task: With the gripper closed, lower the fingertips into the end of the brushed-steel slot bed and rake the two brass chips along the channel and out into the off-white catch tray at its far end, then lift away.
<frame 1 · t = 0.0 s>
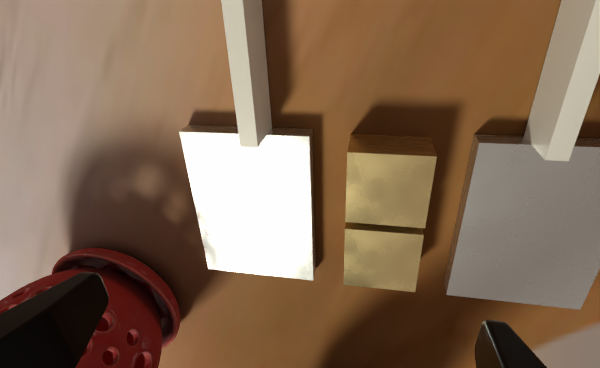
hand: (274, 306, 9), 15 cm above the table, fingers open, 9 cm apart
brass chip b: (386, 168, 23), on the table
brass chip a: (381, 233, 25), on the table
plant pot: (124, 289, 33), on the table
slot bed: (383, 211, 24), on the table
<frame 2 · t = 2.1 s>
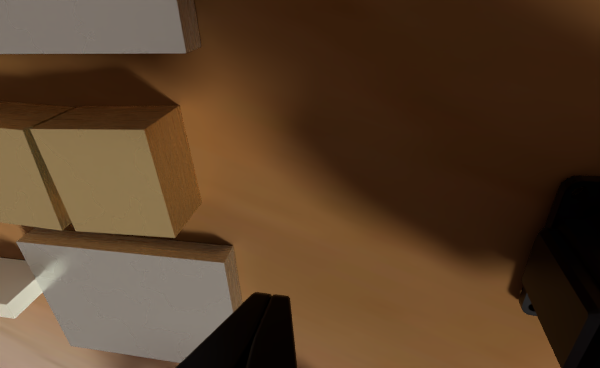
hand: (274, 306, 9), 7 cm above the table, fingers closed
brass chip b: (47, 149, 17), on the table
brass chip a: (146, 154, 16), on the table
slot bed: (101, 154, 16), on the table
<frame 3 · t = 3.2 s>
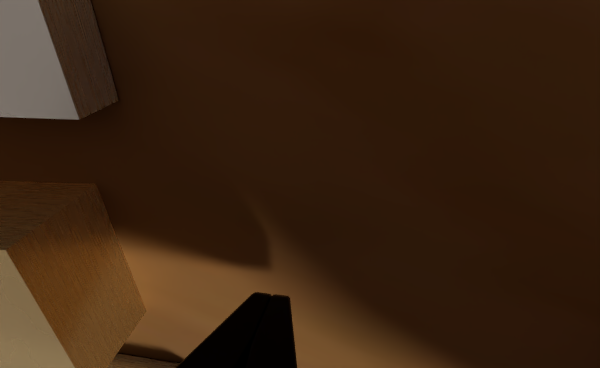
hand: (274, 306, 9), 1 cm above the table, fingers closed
brass chip a: (61, 244, 11), on the table
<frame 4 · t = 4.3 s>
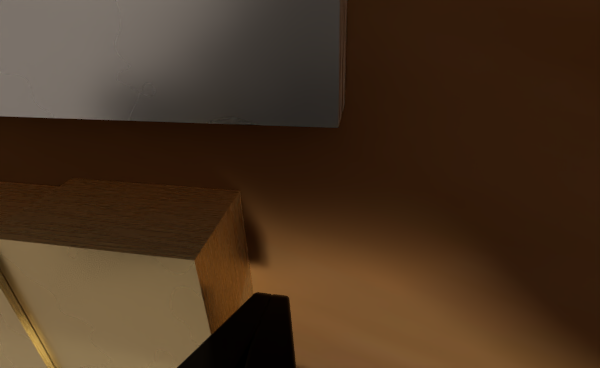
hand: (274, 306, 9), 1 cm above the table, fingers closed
brass chip b: (38, 243, 11), on the table
brass chip a: (176, 247, 10), on the table, touching gripper
slot bed: (143, 258, 10), on the table
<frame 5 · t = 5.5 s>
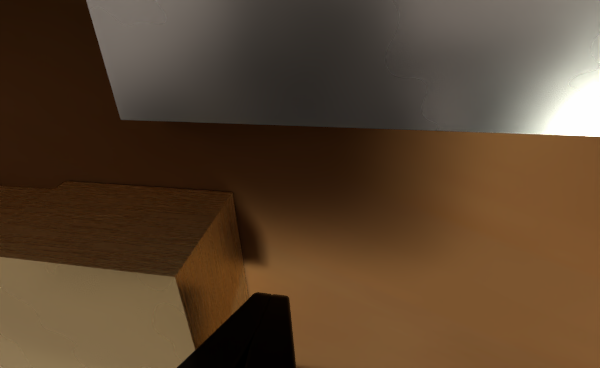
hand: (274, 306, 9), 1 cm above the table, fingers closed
brass chip b: (33, 249, 11), on the table
brass chip a: (165, 257, 10), on the table, touching gripper
slot bed: (402, 286, 9), on the table
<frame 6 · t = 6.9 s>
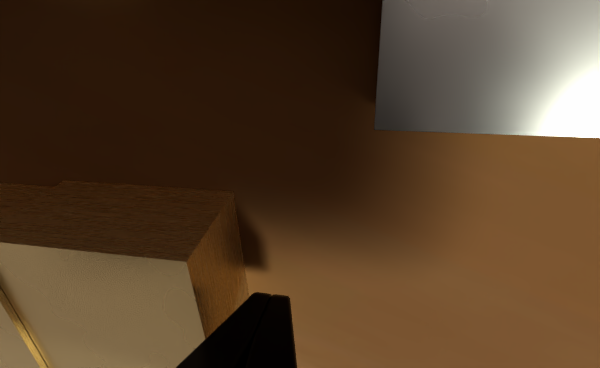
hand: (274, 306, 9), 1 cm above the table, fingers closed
brass chip b: (33, 244, 11), on the table
brass chip a: (171, 249, 10), on the table
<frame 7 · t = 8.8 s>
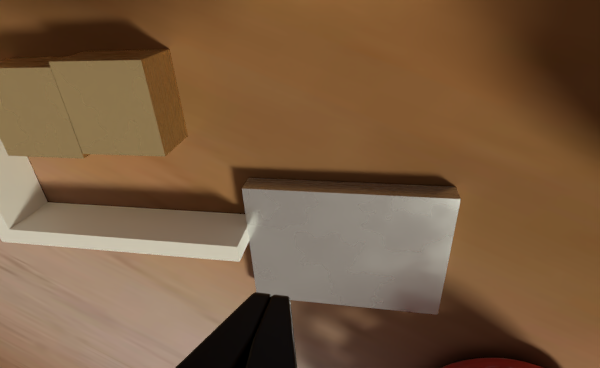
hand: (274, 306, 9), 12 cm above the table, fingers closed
brass chip b: (68, 98, 20), on the table
catch tray: (103, 97, 20), on the table
brass chip a: (141, 93, 20), on the table
slot bed: (348, 99, 18), on the table
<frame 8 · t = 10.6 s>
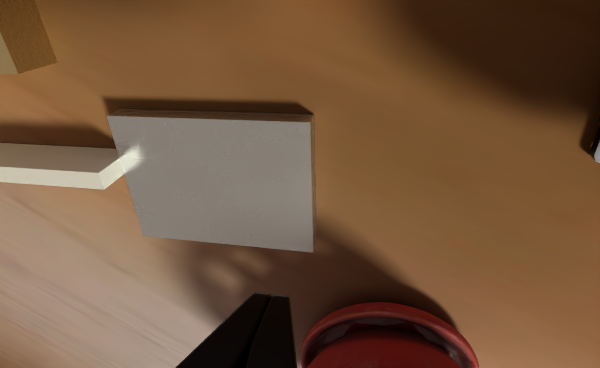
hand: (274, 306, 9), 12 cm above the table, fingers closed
brass chip a: (8, 19, 20), on the table
plant pot: (387, 348, 27), on the table
slot bed: (197, 19, 17), on the table
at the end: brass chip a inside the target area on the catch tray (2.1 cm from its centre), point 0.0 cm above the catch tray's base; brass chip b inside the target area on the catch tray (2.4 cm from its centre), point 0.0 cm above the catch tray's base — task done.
